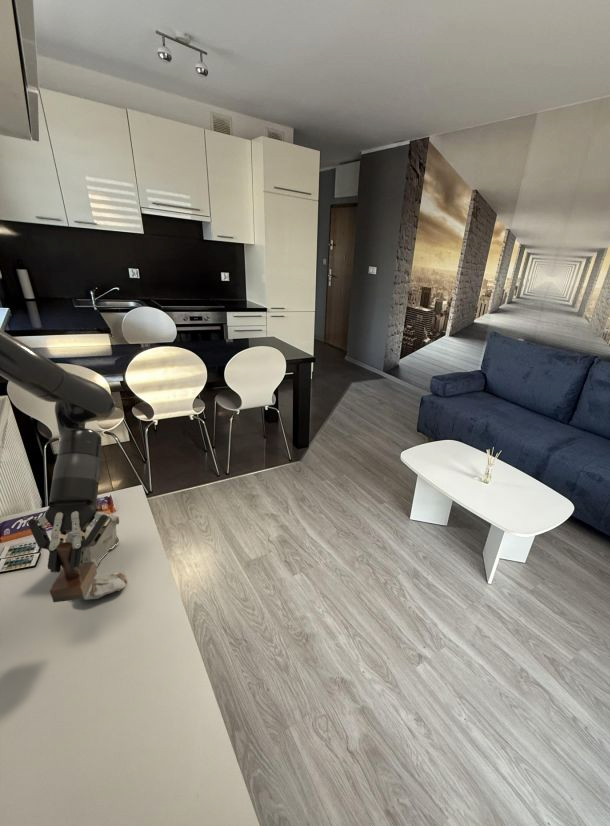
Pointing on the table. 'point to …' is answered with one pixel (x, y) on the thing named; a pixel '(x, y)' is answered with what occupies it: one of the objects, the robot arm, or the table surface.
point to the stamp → (71, 577)
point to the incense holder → (103, 544)
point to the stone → (106, 585)
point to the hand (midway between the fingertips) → (64, 570)
